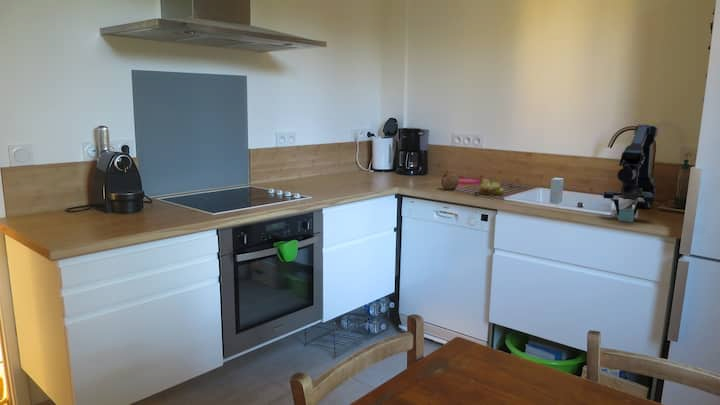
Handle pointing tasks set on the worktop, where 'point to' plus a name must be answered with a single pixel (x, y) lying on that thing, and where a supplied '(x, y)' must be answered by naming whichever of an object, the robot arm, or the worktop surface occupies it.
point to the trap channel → (615, 210)
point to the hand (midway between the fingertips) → (625, 215)
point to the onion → (449, 181)
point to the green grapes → (490, 187)
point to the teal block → (626, 215)
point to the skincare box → (556, 190)
